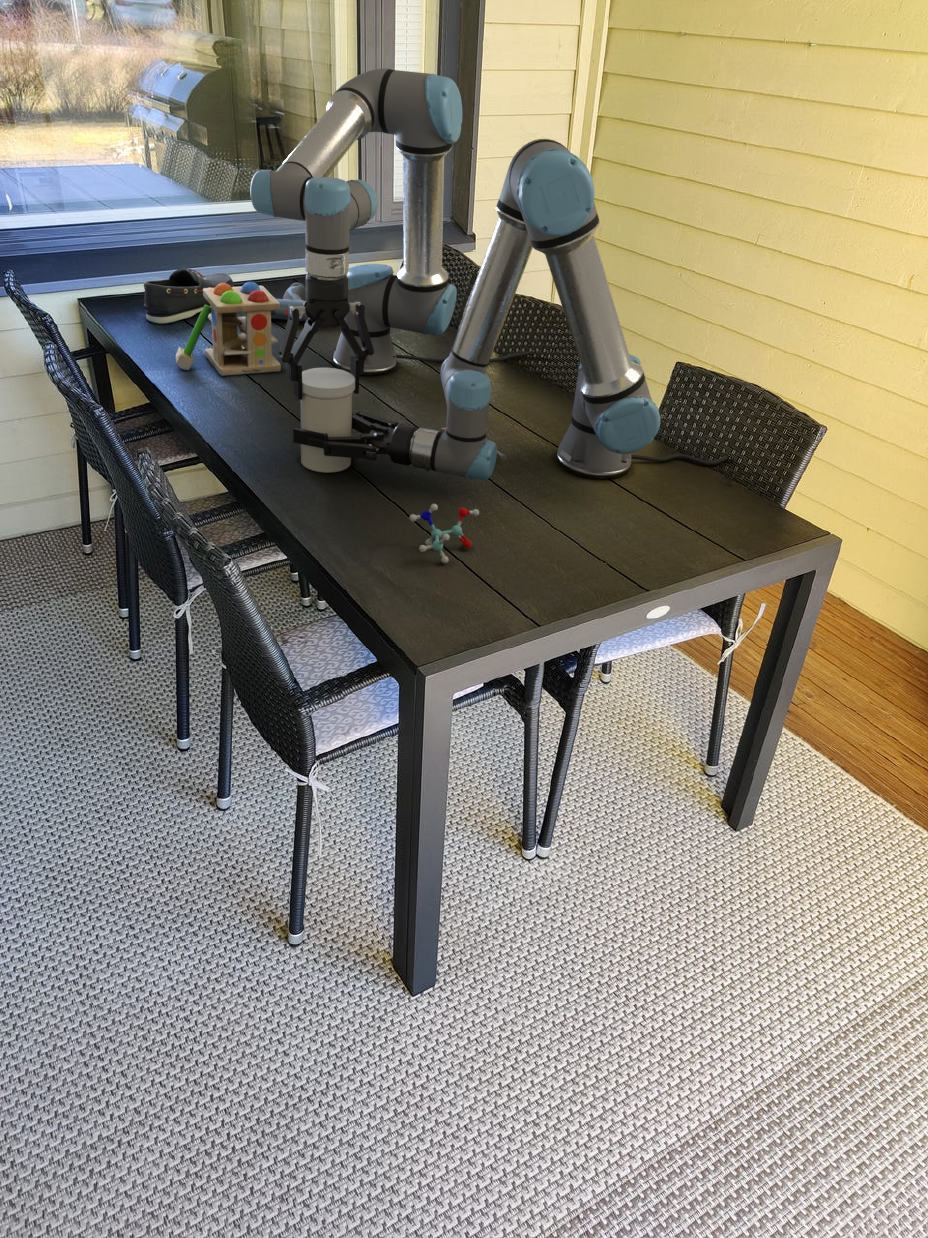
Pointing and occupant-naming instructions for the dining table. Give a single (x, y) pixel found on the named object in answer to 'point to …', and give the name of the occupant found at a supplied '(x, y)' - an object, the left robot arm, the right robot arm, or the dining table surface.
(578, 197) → the right robot arm
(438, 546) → the molecular model
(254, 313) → the pounding bench toy
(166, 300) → the boat shoe
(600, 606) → the dining table surface
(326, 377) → the lid
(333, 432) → the jar
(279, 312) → the power drill
